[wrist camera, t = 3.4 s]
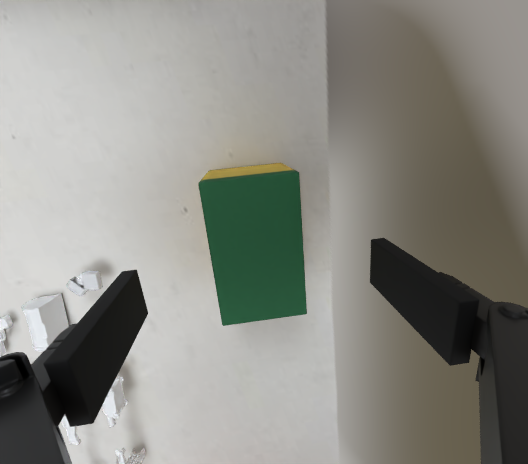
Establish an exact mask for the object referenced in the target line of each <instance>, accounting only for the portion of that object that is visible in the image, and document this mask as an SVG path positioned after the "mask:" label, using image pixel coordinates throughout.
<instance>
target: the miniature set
mask: <svg viewBox="0 0 528 464" xmlns="http://www.w3.org/2000/svg"><path fill="white" fill-rule="evenodd" d="M78 278H79V279H78ZM78 278H77V277H73V278H72V279H70V280H69V282H68V283H67V285H66V287H67V288H69V289H70V290H71V291H72V292H74V293H75V294H77V295H79V296H83V295H84V294H85V293H86V292H87V291H88V290H99V289H101V288H102V287H103V285H102V279H101V274H100V272H99V271H86V272H84V273H82V274H80V275H79V277H78ZM80 279H81V280H80ZM22 311H23V312H24V313H25V316H26V320H27V324H28V327H29V331H30V335H31V338H32V342H33V344H32V347H33V349H34V350H35V351H45V350H46V348H47V347H48V346H49V345H50V344H51V343H53V341H54V339H55V338H56V337H57V336H58V335H59V334H60V333H61V332H62V331H64V330H65V329H66V328H68V327H69V324H68V320H67V316H66V311H65V307H64V303H63V299H62V294H57V295H55V296H43V297H38V298H35V299H32V300H30V301H28V302H26V303H25V304H23V305H22ZM11 326H13V323H12V320H11V317H10V316H9V315H6V316H4V317H2V318H0V356H2V355H4V354H5V353H6V350H5V346H4V342H3V341H4V340H5V339H6V335H5V330H4V329H5V328H10V327H11ZM2 334H3V338H2ZM123 381H124V378H123V377H120V376H118V377H117V378H116V379H115V381H114V383H113V385H112V387H111V389H110V391H109V393H108V395H107V397H106V399H105V401H104V403H103V405H102V407H103V411H102V412H103V413H104V414H106V415H107V420H108V426H109V427H113V426H114V425H115V424H116V421H115V419H118V418H119V415H120V414H119V413H120V412H121V410H122V408H123V407H125V405H127V403H128V400H127V399H125V398H124V392H123V387H122V382H123ZM61 422H62V426H63V427H66V431H67V435H68V436H67V437H68V440H69V444H75V445H79V444H80V442H81V439H79V437H78V435H77V434H76V431H77V426H74V427H70V425H69V423H68V420H67V418H66V416H65V415H64V417H63V418H62V420H61ZM115 451H116V456H117V457H118V458H117V464H132V463H136V464H141V463H142V461H143V459H144V457H145V449H144V447H143V449H142V451H141V453H140V454H136V452H135V450H134V449H133V451H132V453H131V455H130V457H129V459H128V460H127V461H126V459H125V456H124V453H125V449H124V448H123V449H122V451H120V450H115ZM135 457H138V459H137V460H134V459H135Z"/></svg>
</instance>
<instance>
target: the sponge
mask: <svg viewBox="0 0 528 464" xmlns="http://www.w3.org/2000/svg"><path fill="white" fill-rule="evenodd" d="M199 190H200V196H201V202H202V208H203V214H204V219H205V225H206V231H207V237H208V243H209V249H210V255H211V261H212V266H213V272H214V278H215V284H216V290H217V296H218V302H219V307H220V313H221V319H222V325H223V326H225V325H232V324H239V323H246V322H253V321H260V320H267V319H275V318H282V317H289V316H296V315H303V314H307V309H306V291H305V272H304V254H303V236H302V218H301V200H300V182H299V172H297V171H295V170H294V169H292V168H290V167H288V166H286V165H284V164H282V163H275V164H265V165H256V166H247V167H237V168H228V169H219V170H210V171H208V173H207V174H206V175H205V176H204V177H203V179H202V180H201V181H200V182H199Z"/></svg>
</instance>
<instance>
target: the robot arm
mask: <svg viewBox="0 0 528 464" xmlns="http://www.w3.org/2000/svg"><path fill="white" fill-rule="evenodd" d="M370 283H371V284H372V285H373V286H374V287H375V288H376V289H377V290H378V291H379V292H380V293H381V294H382V295H383V296H384V297H385V298H386V300H387V301H388V302H389V303H390V304H391V305H392V306H393V307H394V308H395V309H396V310H397V311H398V312H399V313H400V314H401V315H402V316H403V317H404V318H405V319H406V320H407V321H408V322H409V323H410V324H411V325H412V326H413V328H414V329H415V330H416V331H417V332H419V334H420V335H421V336H422V337H423V338H424V339H425V340H426V341H427V342H428V343H429V344H430V345H431V346H432V347H433V348H434V349H435V351H436V352H437V353H438V354H439V355H440V356H441V357H442V358H443V359H444V360H445V361H446V362H447V363H448V364H449V365H457V364H463V363H469V359H470V354H471V349H472V350H473V351H474V352H476V353H477V354H478V355H479V356H480V359H479V365H478V370H477V375H476V381H478V382H479V401H480V402H479V405H480V440H481V441H480V443H481V464H528V308H525V307H523V306H520V305H517V304H513V303H508V302H493V301H492V300H490V299H488V298H487V297H485V296H483V295H482V294H480V293H479V292H477V291H475V290H474V289H472V288H470V287H469V286H467V285H466V284H463V283H462V282H461V281H459V280H458V279H456V278H454V277H453V276H450V275H447V274H444V273H442V272H439V273H438V272H436V271H435V270H433V269H431V268H430V267H428V266H427V265H425V264H424V263H422V262H421V261H419V260H417V259H416V258H414V257H413V256H411V255H410V254H408V253H407V252H405V251H404V250H402V249H400V248H399V247H397V246H396V245H394V244H393V243H391V242H390V241H388V240H386V239H385V238H380V239H372V240H371V266H370ZM147 315H148V311H147V307H146V303H145V299H144V296H143V292H142V288H141V284H140V280H139V277H138V273H137V270H131V271H123V272H121V274H120V275H119V276H118V277H117V278H116V279H115V281H114V282H113V283H112V284H111V285H110V286H109V288H108V289H107V290H106V291H105V292H104V293H103V294H102V296H101V297H100V298H99V299H98V300H97V301H96V303H95V304H94V305H93V306H92V307H91V308H90V310H89V311H88V312H87V313H86V314H85V315H84V317H83V318H82V319H81V320H80V321H79V322H78V323H77V324H72V325H71V326H69V327H68V328H66V329H65V330H64V331H62V332H61V333H60V334H59V335H58V336H57V337H56V338H55V339H54V341H53V343H51V344H50V345H49V346H48V347H47V348H46V350H45V351H44V352H43V353H42V354H41V355H40V356H39V357H38V358H37V359H36V360H35V362H34V363H33V364H32V365H31V364H30V362H29V360H28V358H27V355H26V354H24V353H22V352H15V353H11V354H7V355H4V356H1V357H0V464H72V462H71V459H70V456H69V454H68V451H67V448H66V445H65V442H64V440H63V437H62V434H61V431H60V429H59V427H58V425H59V423H60V422H61V420H62V418H63V417H64V415H65V416H66V418H67V420H68V423H69V425H70V427H74V426H80V425H86V424H92V423H94V421H95V419H96V417H97V415H98V413H99V411H100V409H101V407H102V405H103V403H104V401H105V399H106V397H107V395H108V393H109V391H110V389H111V387H112V385H113V383H114V381H115V379H116V377H117V375H118V373H119V371H120V369H121V367H122V365H123V363H124V361H125V359H126V357H127V355H128V353H129V351H130V349H131V347H132V345H133V343H134V341H135V339H136V337H137V335H138V333H139V331H140V329H141V327H142V325H143V323H144V321H145V319H146V317H147Z"/></svg>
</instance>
